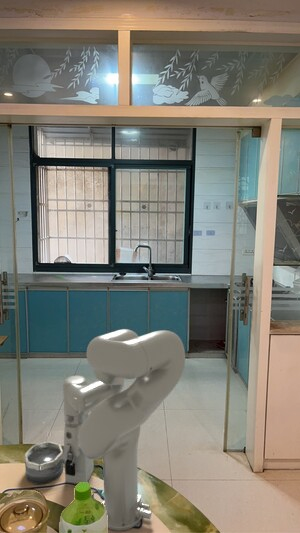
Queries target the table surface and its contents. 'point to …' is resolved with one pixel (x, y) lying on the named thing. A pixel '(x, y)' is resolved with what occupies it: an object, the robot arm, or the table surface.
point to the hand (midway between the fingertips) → (78, 464)
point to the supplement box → (80, 469)
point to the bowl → (44, 463)
